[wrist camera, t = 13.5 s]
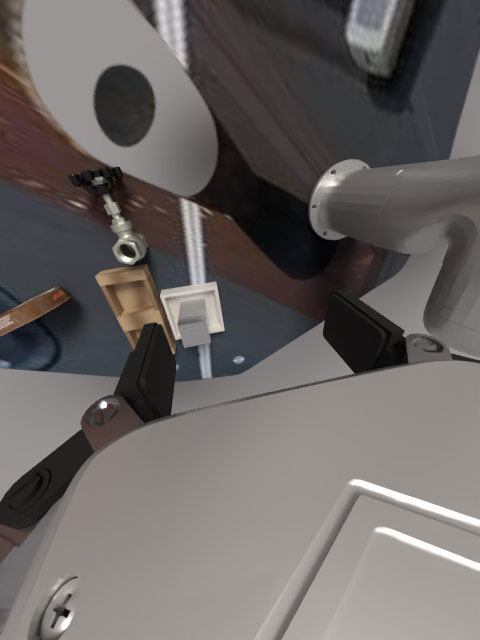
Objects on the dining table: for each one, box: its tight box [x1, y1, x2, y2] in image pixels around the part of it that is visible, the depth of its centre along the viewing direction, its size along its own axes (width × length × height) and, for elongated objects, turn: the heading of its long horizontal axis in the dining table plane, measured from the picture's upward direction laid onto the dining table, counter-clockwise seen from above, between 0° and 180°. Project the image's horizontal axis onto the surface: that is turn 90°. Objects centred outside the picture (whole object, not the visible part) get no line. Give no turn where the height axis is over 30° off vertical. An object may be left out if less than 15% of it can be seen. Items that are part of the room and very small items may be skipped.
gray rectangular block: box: [177, 298, 211, 348], centre depth 40 cm, size 5×5×9 cm
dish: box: [160, 282, 225, 340], centre depth 43 cm, size 11×11×2 cm
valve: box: [68, 167, 148, 265], centre depth 30 cm, size 7×7×12 cm
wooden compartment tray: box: [95, 264, 176, 354], centre depth 41 cm, size 8×20×3 cm, turn 5°
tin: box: [0, 286, 71, 336], centre depth 34 cm, size 15×3×8 cm, turn 112°
